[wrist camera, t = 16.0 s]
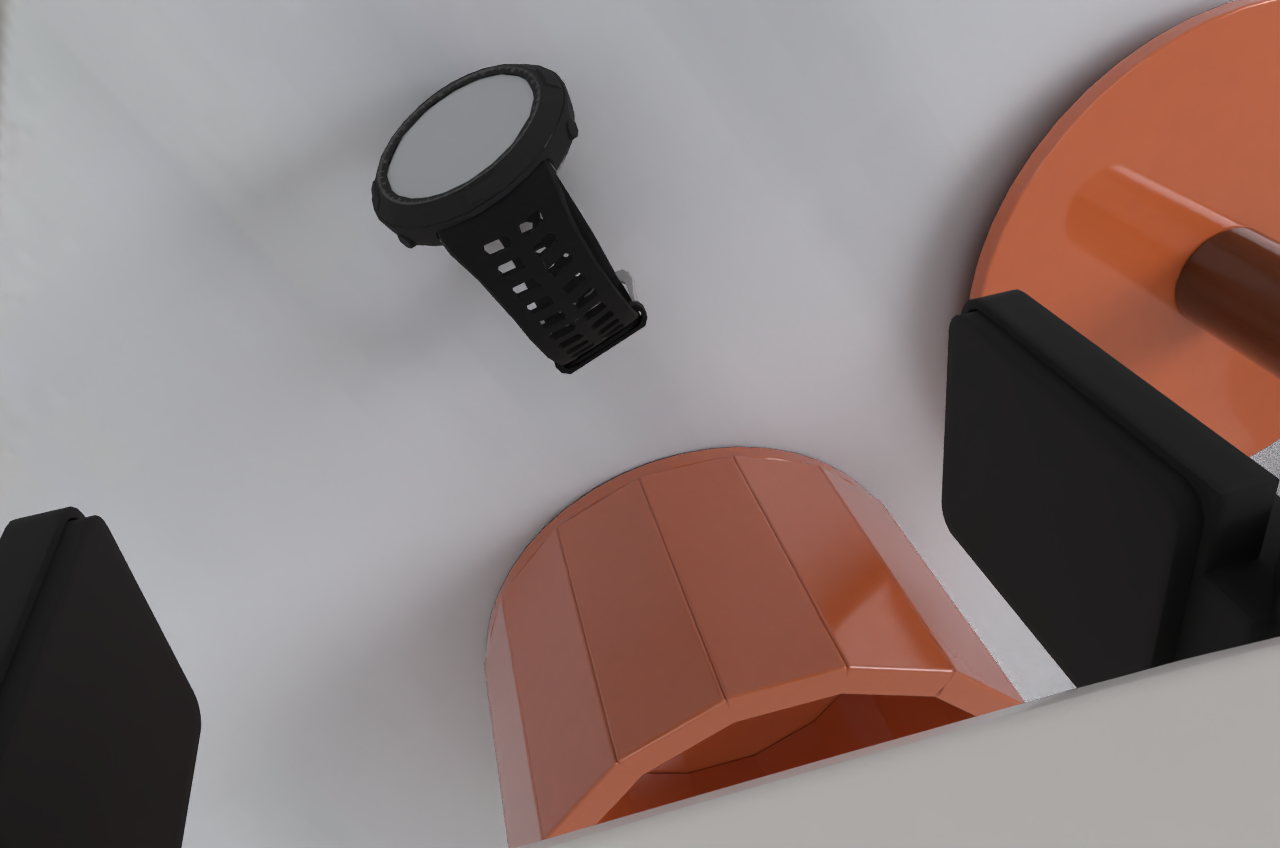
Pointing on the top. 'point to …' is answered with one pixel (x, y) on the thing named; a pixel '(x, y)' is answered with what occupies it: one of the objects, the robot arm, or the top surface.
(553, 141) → the smartwatch
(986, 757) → the robot arm
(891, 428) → the top surface
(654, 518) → the pot
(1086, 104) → the lid
